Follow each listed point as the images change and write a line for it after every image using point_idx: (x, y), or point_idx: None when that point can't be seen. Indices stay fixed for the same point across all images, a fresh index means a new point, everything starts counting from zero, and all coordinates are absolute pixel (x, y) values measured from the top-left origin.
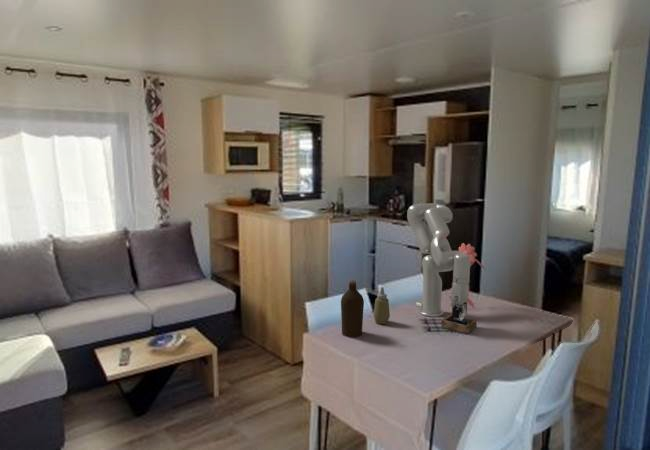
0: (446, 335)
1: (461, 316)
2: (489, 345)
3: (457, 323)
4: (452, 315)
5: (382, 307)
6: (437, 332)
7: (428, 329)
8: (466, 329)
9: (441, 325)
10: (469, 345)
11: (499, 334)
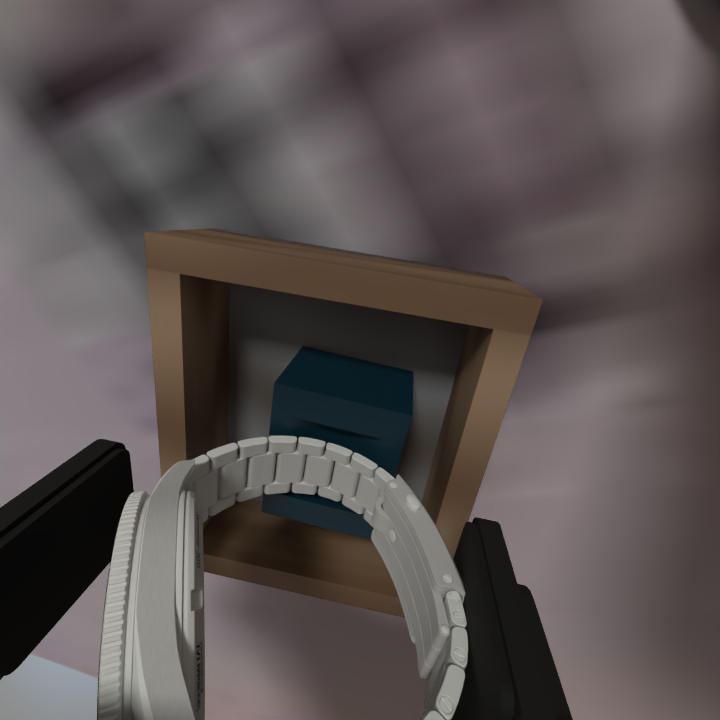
0: (69, 335)
1: (376, 505)
2: None
3: (178, 459)
4: (83, 458)
5: None
6: (70, 225)
7: (72, 78)
8: None
9: (193, 230)
10: None
11: (371, 672)
